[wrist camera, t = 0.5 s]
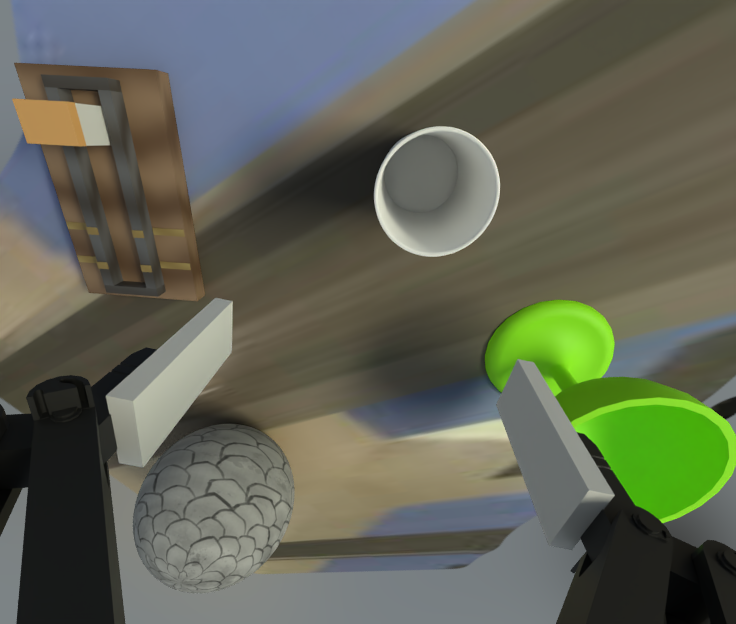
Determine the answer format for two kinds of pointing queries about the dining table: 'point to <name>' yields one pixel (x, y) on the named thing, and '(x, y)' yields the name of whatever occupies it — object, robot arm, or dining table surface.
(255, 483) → the decorative sphere
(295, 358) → the dining table surface
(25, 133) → the fader knob
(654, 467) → the wineglass
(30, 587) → the robot arm
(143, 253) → the wooden tray
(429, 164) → the cup
